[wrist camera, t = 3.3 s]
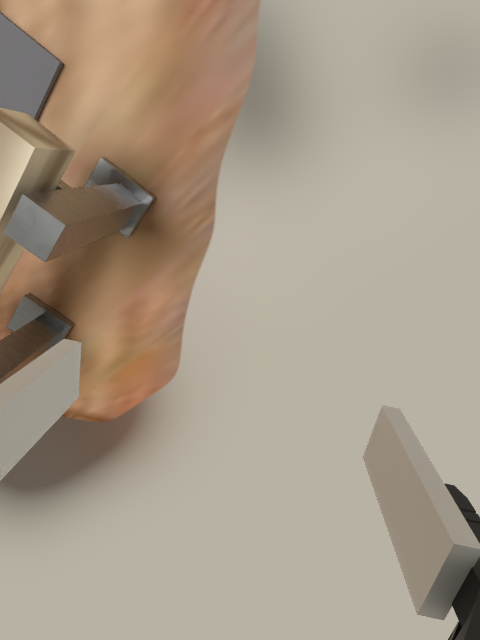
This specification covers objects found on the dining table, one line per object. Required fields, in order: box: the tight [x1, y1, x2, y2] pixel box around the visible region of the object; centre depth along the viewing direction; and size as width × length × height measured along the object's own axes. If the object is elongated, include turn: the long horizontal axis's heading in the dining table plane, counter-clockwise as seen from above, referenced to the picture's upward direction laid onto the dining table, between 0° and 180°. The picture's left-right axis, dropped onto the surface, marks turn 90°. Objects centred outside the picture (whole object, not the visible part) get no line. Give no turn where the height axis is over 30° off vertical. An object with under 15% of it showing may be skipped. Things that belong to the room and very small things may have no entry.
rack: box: [0, 158, 156, 384], centre depth 34 cm, size 10×23×16 cm, turn 142°
